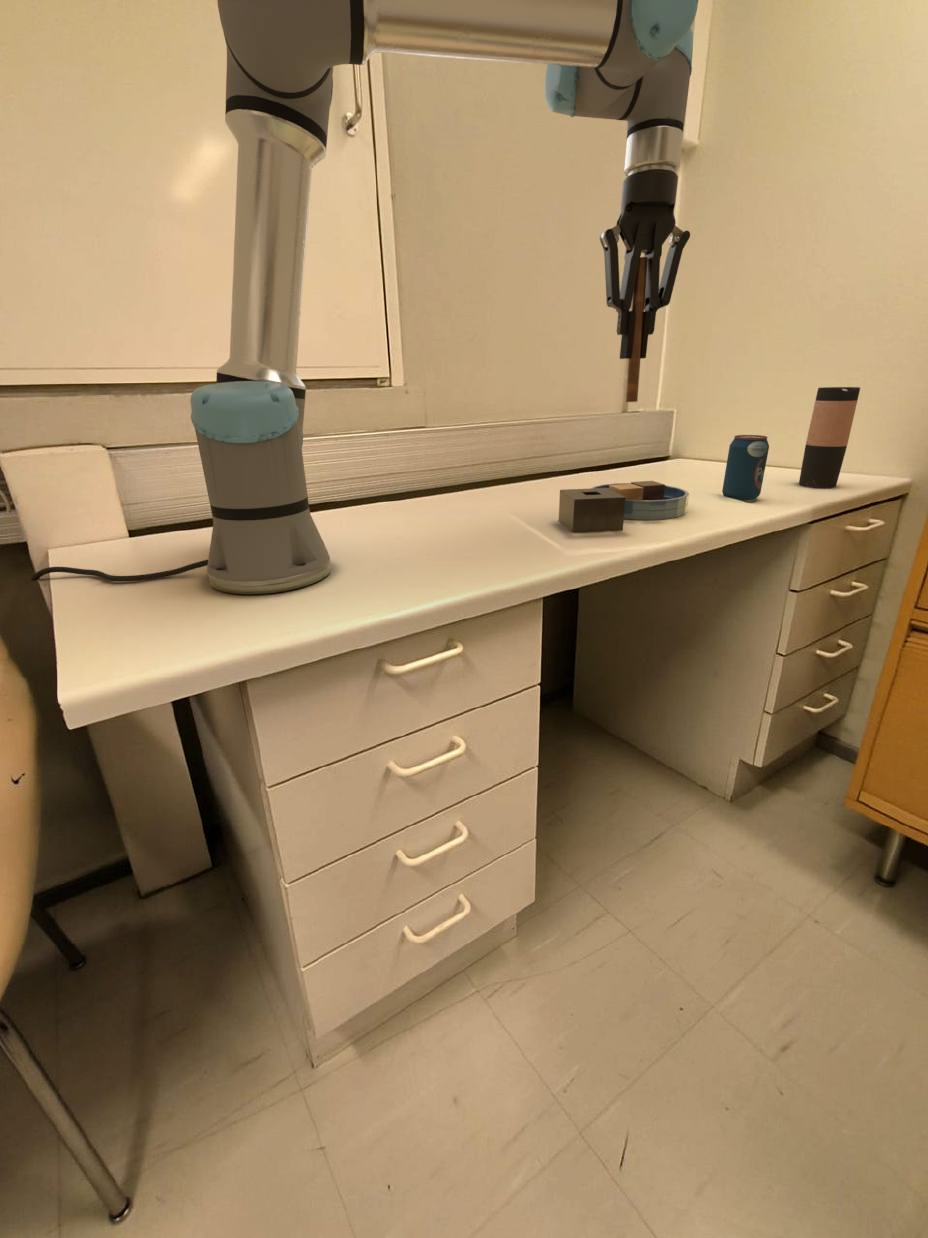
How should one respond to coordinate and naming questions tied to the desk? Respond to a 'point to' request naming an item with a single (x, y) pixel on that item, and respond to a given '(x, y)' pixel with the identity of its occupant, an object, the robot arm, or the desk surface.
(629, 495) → the pine block
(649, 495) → the walnut block
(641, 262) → the stirring stick
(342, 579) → the desk surface
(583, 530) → the stand
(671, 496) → the bowl
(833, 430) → the travel mug
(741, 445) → the soda can
